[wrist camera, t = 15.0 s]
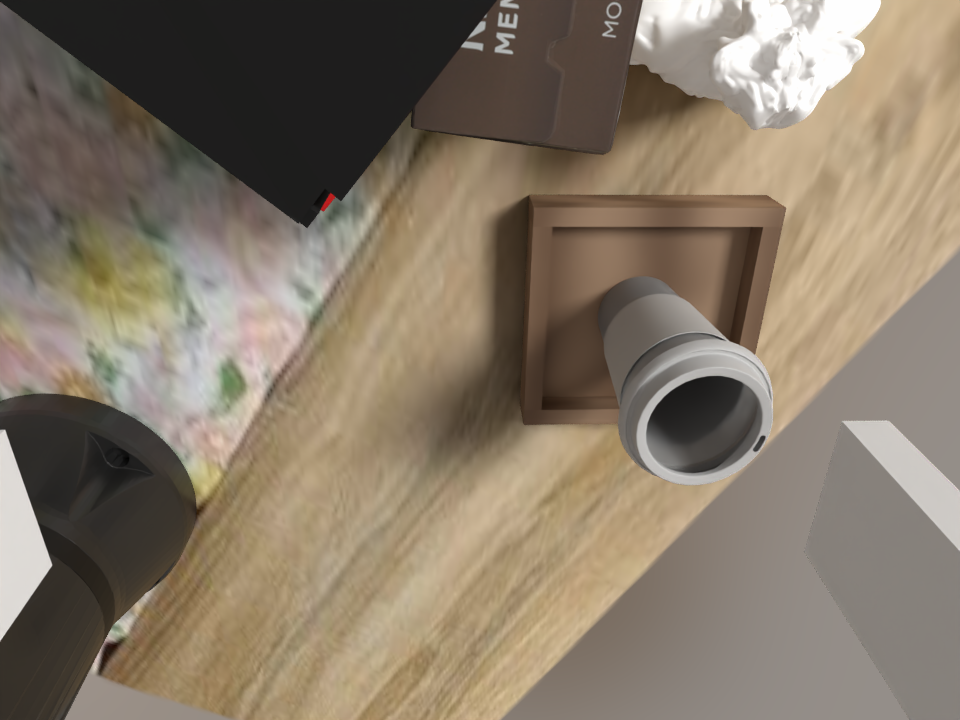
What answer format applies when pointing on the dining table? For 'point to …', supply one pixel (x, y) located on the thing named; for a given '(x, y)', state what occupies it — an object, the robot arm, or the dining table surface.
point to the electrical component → (269, 77)
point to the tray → (626, 254)
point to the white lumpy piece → (753, 51)
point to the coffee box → (537, 75)
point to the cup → (681, 386)
